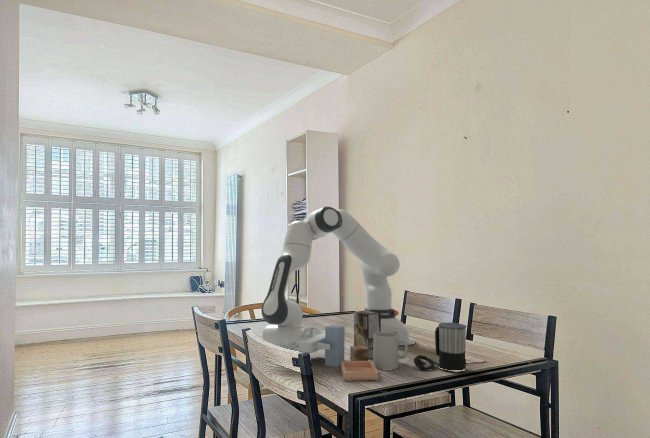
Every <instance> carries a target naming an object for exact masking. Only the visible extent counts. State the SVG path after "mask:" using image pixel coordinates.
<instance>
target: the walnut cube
mask: <svg viewBox="0 0 650 438" xmlns="http://www.w3.org/2000/svg"><path fill="white" fill-rule="evenodd" d="M349 348H350V349H349V351H350V355H349V356H350V357H349V359H350V360H349V361H369V358H368V355H369V349H368V348H366V347H365V346H354V345H352V346H350V347H349Z"/></svg>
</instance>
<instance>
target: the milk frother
mask: <svg viewBox="0 0 650 438" xmlns="http://www.w3.org/2000/svg"><path fill="white" fill-rule="evenodd" d="M466 332H467V325H466V324H464V323H463V324H462V323H459V322H457V323H456V322H440V323H438V326H436V328H435V330H434V341H435V344H434V345H435V354H436V356H437V357H438V363H437V362H436V361H434V360H433V359H431V358H430V357H427V356H425V355H421V354H419V355H416V356H415V357H414V358H413V364H414V365H415V366H416V367H418V368H419V369H420V368H421V369H420V370H427V371H430V370H429V369H432V370H434V369H435V365H438V366H439V367H440V368H443V369H447V370H463V369H465V368H466V369H467V367H466V365H467V364H466V359H465V352H466V349H467V348H466V345H467V344H466V343H467V342H466V339H467V338H466V337H467V333H466ZM427 362H428V363H429V364H430V365H428V366H427Z"/></svg>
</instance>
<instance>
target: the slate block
mask: <svg viewBox="0 0 650 438" xmlns="http://www.w3.org/2000/svg"><path fill="white" fill-rule="evenodd" d="M345 329H346V328H345V325H338V324H337V325H336V324H335V325H334V324H330V325H328V326H327V325H326V326H325V328H324V330H325V344H326V343H329V344H331V345H332V346H331V347H332V348H331V349H329V350H326V349H324V365H325V366H327V365H328V366H327V367H335V368H339V367H341V361H345V334H346V333H345V331H346V330H345Z"/></svg>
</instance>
